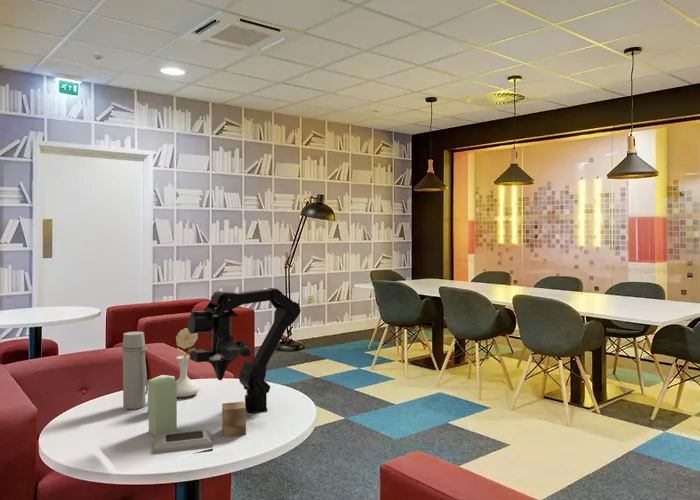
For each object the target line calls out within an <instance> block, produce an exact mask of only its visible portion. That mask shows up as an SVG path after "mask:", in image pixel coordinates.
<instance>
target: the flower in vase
mask: <svg viewBox="0 0 700 500" xmlns="http://www.w3.org/2000/svg"><path fill="white" fill-rule="evenodd" d="M198 335H199V333H195V334H190V332H189V330H188V327H187V328H186V327H184V328H183V329H181V330H179V332H178V333H177V335H176V336H175V340H176V346H177V347H176V349H177V350H178V351H180V352H181V353H184V354H185V355H180V356H176V358H175V359H176V360H177V362H178V364H179V378H178V379H177V380H176V381H177V398H178V397H179V398H185V397H190V396H194V395H196V394H198V393H199V391H200V390H201V388H200V386H199V385H198V384H197V383H196V382H194V381H193V380H191V379H190V378H189V376H188V372H187V371H188V363H189V360H190V355H188V353H189V354H190V353H191V351H192V350H197V348H195V347H193V346H194V345H195V343H196V342H197V341H198V338H199V336H198ZM178 347H179V348H178ZM191 347H192V348H191ZM180 348H182V349H183V350H181V349H180ZM184 349H188V350H187V352H185V351H184Z"/></svg>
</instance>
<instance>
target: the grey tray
mask: <svg viewBox="0 0 700 500" xmlns="http://www.w3.org/2000/svg"><path fill="white" fill-rule="evenodd" d="M153 440H154V441H153V454H154V455H155V454H161V453H162V454H163V453H170V452H171V453H173V452H179V451H180V452H181V451H187V450H188V451H190V450H196V449H197V450H198V449H204V448H207V449H204V450H201V451H197V452H193V453H192V454H193V455H194V454H200V453H209V452H213V450H214V448H213V447H214V444H213V441H212V440H213V439H212V436H211V432H210V430H208V429H205V428H204V429H196V430H195V429H194V430H187V431H184V430H183V431H177V432H175V433H166V434H161V435H158V436H156V437H155V436H154V439H153ZM208 448H209V449H208Z"/></svg>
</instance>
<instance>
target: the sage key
mask: <svg viewBox="0 0 700 500" xmlns="http://www.w3.org/2000/svg"><path fill="white" fill-rule="evenodd" d="M147 382H148V391H147V402H148V401H149V414H148V432H149V433H150V434H152V436H154V437H156V436H158V435H161V434H166V433H175V432H178V431H177V428H178V427H177V425H178V423H177V422H178V420H177V418H178V413H177V412H178V411H177V404H178V403H177V401H178V399H177V398H178V397H177V380H176V379H175V380H174V379H172V378H170V377H163V378H157V379H153V378H151V379H147Z"/></svg>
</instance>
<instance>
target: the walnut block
mask: <svg viewBox="0 0 700 500" xmlns="http://www.w3.org/2000/svg"><path fill="white" fill-rule="evenodd" d="M221 404H222V405H221V406H222V407H221V408H222V410H221V411H222V412H221V415H222V416H221V417H222V420H221V422H222V423H221V426H222V427H221V428H222V429H221V430H222V434H223V437H224V438H228V437H229V438H230V437H239V436H245V435H247V410H246V407H245V402H244V401H236V402H235V401H234V402H223V403H221Z"/></svg>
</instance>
